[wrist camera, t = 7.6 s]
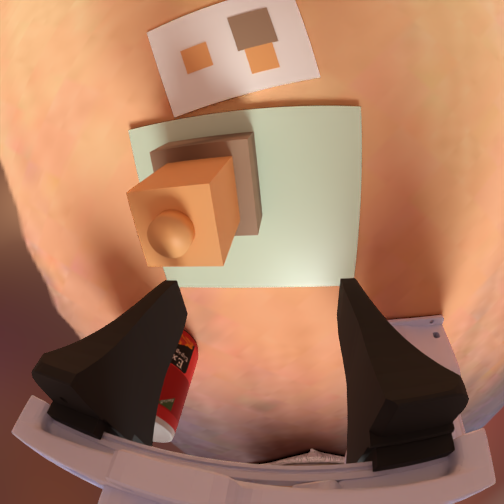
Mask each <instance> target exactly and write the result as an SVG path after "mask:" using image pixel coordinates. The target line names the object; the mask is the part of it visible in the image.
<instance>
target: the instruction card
mask: <svg viewBox="0 0 504 504" xmlns="http://www.w3.org/2000/svg"><path fill="white" fill-rule="evenodd" d="M147 35H148V39H149V42H150V45H151V48H152V51H153V55H154V58H155V61H156V64H157V67H158V70H159V73H160V76H161V79H162V82H163V85H164V88H165V91H166V94H167V97H168V100H169V103H170V106H171V109H172V112H173V115H174V117H177V116H180V115H183V114H185V113H188V112H191V111H194V110H196V109H199V108H202V107H205V106H208V105H211V104H214V103H217V102H221V101H224V100H227V99H230V98H234V97H237V96H241V95H244V94H248V93H252V92H255V91H259V90H263V89H267V88H271V87H275V86H280V85H284V84H289V83H294V82H298V81H304V80H309V79H314V78H320V73H319V70H318V67H317V63H316V60H315V56H314V53H313V50H312V47H311V44H310V41H309V37H308V34H307V31H306V29H305V26H304V23H303V20H302V17H301V14H300V12H299V9H298V6H297V4H296V1H295V0H227V1H224V2H221V3H218V4H215V5H212V6H209V7H206V8H203V9H200V10H198V11H195V12H192V13H190V14H187V15H185V16H182V17H180V18H178V19H175V20H173V21H171V22H168V23H166V24H164V25H162V26H160V27H157V28H155V29H153V30H151V31H149V32H147Z"/></svg>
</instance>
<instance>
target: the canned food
mask: <svg viewBox="0 0 504 504" xmlns="http://www.w3.org/2000/svg"><path fill="white" fill-rule="evenodd" d="M197 360H198V347H197V344H196V342H195V341H194V339H193V338H192V337H191V336H190V335H189V334H188V333H187V332H186V331H185V330H183V333H182V336H181V338H180V341H179V343H178V346H177V348H176V351H175V353H174V355H173V358H172V360H171V363H170V365H169V368H168V370H167V373H166V376H165V379H164V383H163V387H162V391H161V395H160V399H159V404H158V408H157V414H156V420H155V426H154V434H153V441H154V442H169V441H171V440H172V439H173V436H174V435H175V432H176V429H177V426H178V423H179V419H180V416H181V413H182V409H183V406H184V403H185V399H186V396H187V393H188V390H189V386H190V383H191V380H192V376H193V373H194V370H195V367H196V364H197Z"/></svg>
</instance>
